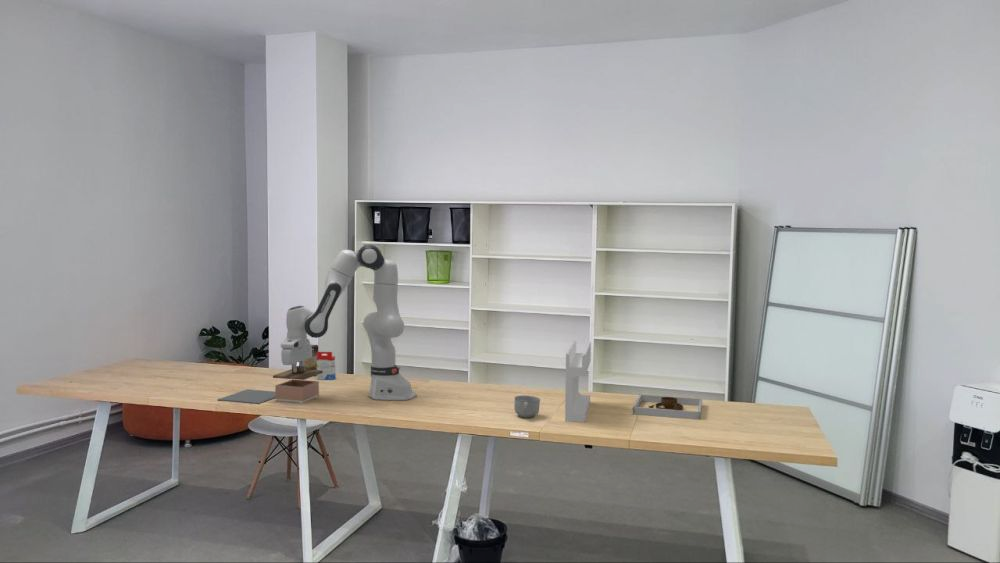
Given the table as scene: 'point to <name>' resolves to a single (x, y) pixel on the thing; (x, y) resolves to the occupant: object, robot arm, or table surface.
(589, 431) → the table surface
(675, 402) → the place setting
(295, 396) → the salmon open box
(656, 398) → the grey tray frame
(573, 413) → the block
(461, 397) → the table surface
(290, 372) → the walnut lid
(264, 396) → the rubber mat
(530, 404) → the teacup
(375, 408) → the table surface
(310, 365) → the coffee box
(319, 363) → the ink box
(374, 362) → the robot arm
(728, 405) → the table surface
